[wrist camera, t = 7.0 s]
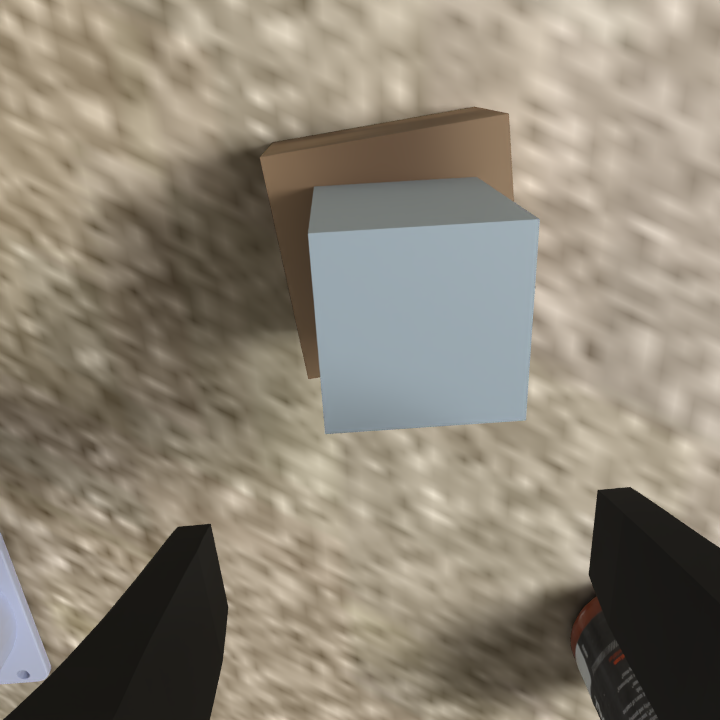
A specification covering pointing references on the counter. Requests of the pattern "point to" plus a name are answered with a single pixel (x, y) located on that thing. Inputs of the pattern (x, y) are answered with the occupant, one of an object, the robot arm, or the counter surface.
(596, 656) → the supplement bottle
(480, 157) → the walnut base
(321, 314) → the blue block
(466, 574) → the counter surface
